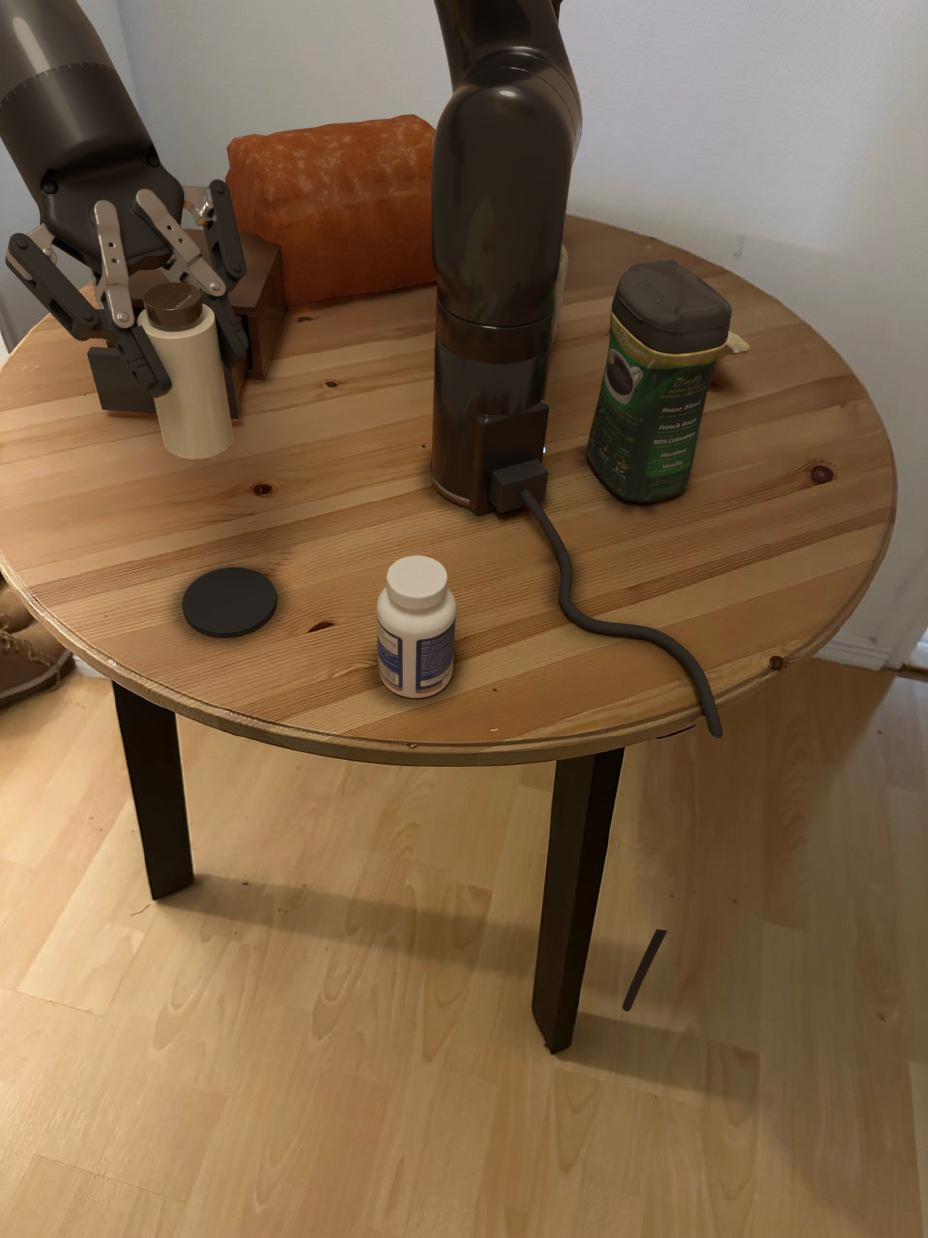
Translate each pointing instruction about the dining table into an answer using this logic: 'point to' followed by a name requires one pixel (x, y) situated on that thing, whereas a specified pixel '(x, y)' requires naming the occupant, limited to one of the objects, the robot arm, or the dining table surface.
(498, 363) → the robot arm
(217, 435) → the cream bottle
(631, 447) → the coffee jar
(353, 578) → the dining table surface
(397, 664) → the pill bottle
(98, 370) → the drawer
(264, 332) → the cabinet
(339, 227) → the bread
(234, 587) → the coaster
